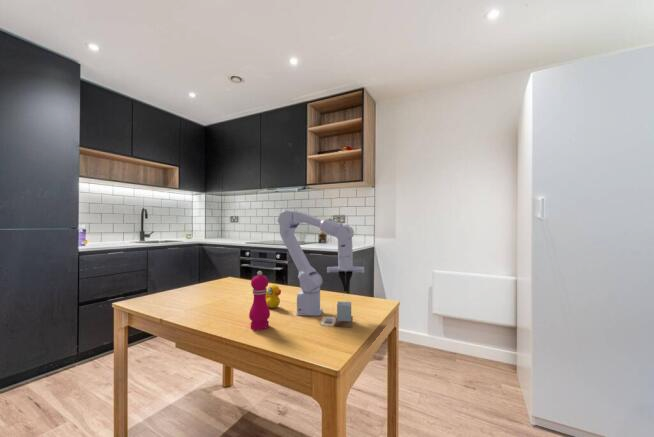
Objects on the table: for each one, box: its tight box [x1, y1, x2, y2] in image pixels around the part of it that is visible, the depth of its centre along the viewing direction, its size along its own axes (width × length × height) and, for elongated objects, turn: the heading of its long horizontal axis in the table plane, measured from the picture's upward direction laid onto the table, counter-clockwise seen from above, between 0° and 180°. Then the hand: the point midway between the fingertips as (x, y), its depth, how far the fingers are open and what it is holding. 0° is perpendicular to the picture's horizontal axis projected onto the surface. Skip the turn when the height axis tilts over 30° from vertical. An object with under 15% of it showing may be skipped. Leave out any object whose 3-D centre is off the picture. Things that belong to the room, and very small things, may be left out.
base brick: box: [335, 315, 354, 328], centre depth 101 cm, size 6×6×2 cm
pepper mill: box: [248, 270, 271, 331], centre depth 98 cm, size 7×7×20 cm
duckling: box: [265, 284, 282, 309], centre depth 120 cm, size 11×5×10 cm, turn 44°
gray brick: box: [336, 301, 352, 321], centre depth 100 cm, size 5×5×6 cm
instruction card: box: [320, 316, 337, 327], centre depth 103 cm, size 5×8×1 cm, turn 174°
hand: (345, 290), depth 107 cm, fingers closed
